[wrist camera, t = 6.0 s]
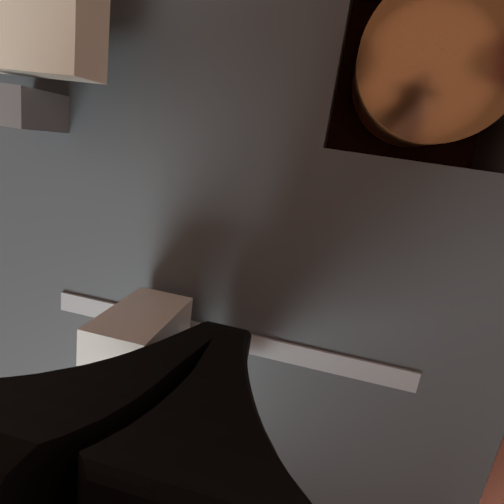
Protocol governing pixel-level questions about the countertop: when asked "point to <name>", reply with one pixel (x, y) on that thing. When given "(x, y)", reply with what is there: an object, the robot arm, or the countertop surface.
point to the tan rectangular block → (133, 324)
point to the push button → (430, 70)
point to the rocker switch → (55, 39)
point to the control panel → (265, 241)
